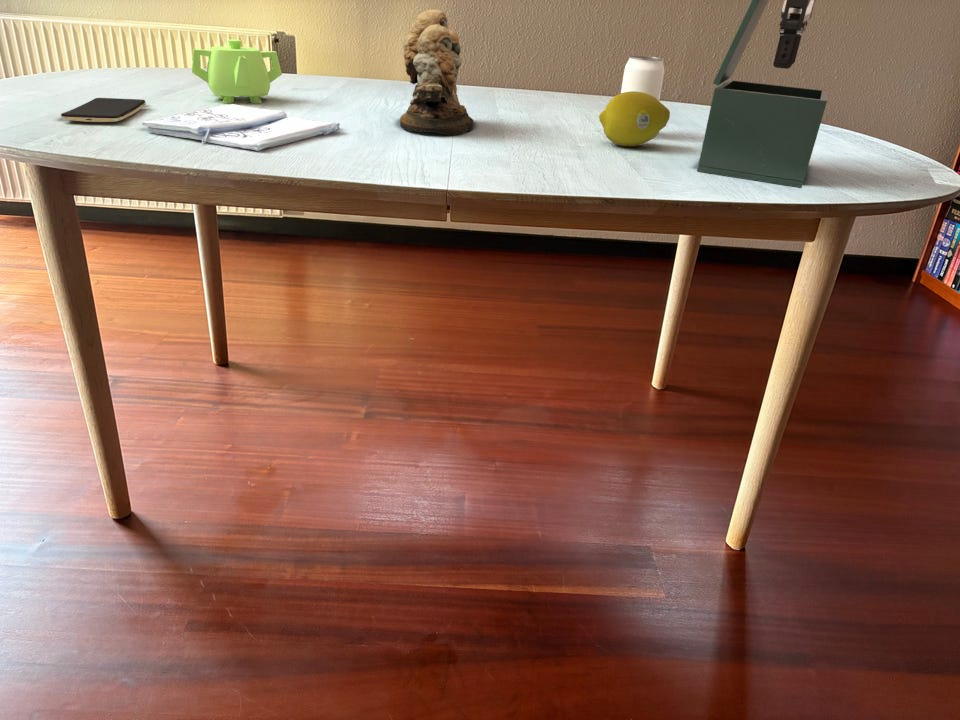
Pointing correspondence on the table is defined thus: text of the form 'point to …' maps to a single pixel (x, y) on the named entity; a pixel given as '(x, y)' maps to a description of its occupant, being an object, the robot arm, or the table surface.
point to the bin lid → (740, 40)
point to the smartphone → (104, 110)
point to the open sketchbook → (240, 127)
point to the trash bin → (762, 131)
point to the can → (643, 75)
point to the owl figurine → (434, 77)
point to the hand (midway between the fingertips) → (783, 65)
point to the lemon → (633, 118)
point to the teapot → (237, 71)
